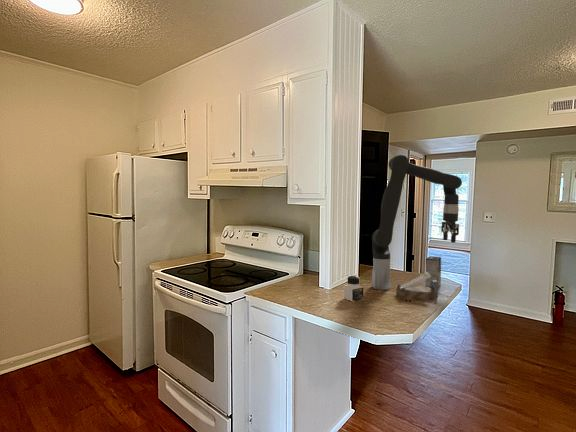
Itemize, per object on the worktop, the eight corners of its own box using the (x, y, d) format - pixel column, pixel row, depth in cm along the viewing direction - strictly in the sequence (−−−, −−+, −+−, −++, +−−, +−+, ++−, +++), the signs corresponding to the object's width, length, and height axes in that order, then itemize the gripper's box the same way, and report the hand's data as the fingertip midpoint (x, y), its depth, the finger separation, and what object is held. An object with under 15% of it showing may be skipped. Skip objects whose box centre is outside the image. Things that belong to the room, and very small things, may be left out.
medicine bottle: (352, 302, 161) (352, 279, 160) (343, 298, 167) (343, 275, 166) (363, 300, 164) (363, 277, 163) (354, 296, 170) (354, 274, 169)
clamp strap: (401, 290, 166) (400, 287, 165) (399, 288, 170) (397, 285, 169) (431, 276, 165) (429, 273, 165) (427, 274, 169) (426, 271, 169)
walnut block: (402, 300, 163) (402, 289, 163) (396, 294, 172) (396, 283, 172) (435, 299, 164) (435, 288, 163) (427, 293, 172) (427, 283, 172)
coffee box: (429, 282, 194) (429, 255, 192) (440, 284, 190) (441, 257, 188) (425, 286, 186) (425, 258, 185) (437, 288, 182) (437, 259, 181)
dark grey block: (433, 297, 166) (433, 281, 166) (430, 295, 170) (430, 280, 169) (438, 297, 166) (438, 281, 166) (435, 295, 170) (435, 279, 169)
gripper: (437, 211, 187) (436, 239, 188) (450, 213, 173) (449, 243, 174) (450, 211, 187) (449, 239, 188) (464, 213, 173) (462, 243, 174)
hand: (449, 241), depth 181 cm, fingers open, 8 cm apart
